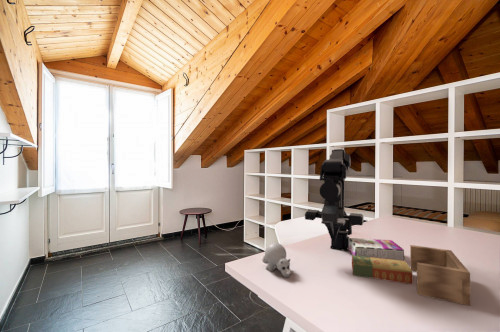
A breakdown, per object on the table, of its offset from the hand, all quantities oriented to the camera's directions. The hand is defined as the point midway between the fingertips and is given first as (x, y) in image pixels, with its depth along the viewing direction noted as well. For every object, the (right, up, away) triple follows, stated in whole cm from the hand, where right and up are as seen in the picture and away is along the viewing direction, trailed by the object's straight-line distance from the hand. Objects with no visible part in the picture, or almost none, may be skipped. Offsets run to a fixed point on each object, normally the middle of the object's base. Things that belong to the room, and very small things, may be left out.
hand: (333, 241), depth 82 cm
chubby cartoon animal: (-20, -8, -5) cm, 22 cm away
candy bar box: (+27, -6, +6) cm, 28 cm away
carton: (+12, -9, -7) cm, 16 cm away
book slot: (+24, -8, -14) cm, 29 cm away
